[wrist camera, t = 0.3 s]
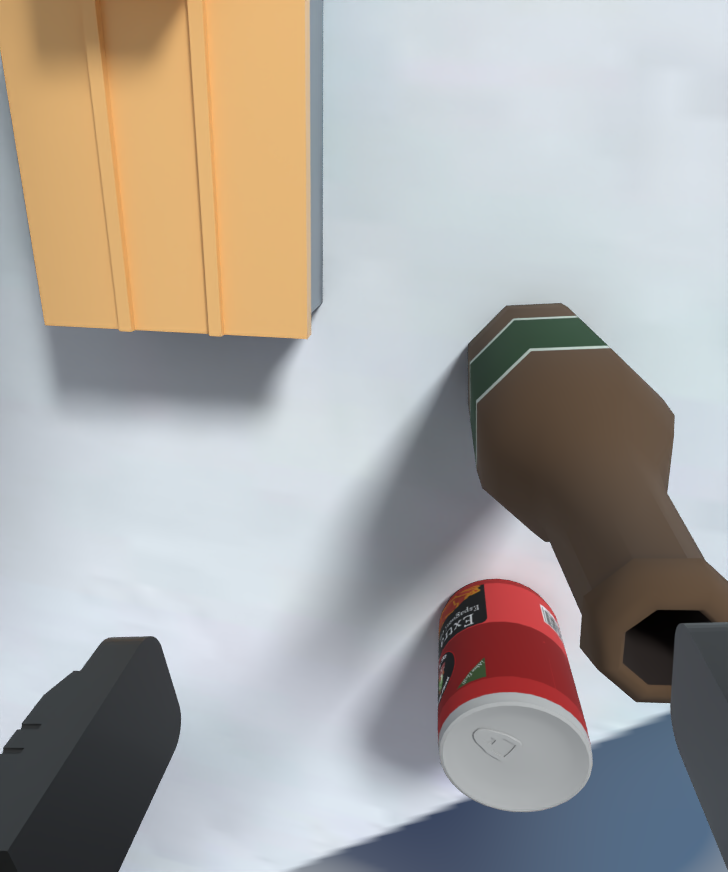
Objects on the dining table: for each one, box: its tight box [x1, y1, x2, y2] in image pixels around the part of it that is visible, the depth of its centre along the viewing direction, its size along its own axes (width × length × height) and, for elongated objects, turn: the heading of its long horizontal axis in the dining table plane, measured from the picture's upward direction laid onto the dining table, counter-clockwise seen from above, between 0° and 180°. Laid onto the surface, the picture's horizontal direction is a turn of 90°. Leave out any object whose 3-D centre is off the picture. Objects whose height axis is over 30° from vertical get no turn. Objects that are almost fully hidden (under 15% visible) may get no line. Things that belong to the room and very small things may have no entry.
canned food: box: [438, 579, 593, 812], centre depth 38 cm, size 8×8×11 cm
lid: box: [0, 0, 311, 339], centre depth 26 cm, size 17×13×6 cm
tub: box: [310, 0, 323, 313], centre depth 31 cm, size 16×12×6 cm
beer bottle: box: [468, 303, 728, 703], centre depth 25 cm, size 8×8×24 cm
